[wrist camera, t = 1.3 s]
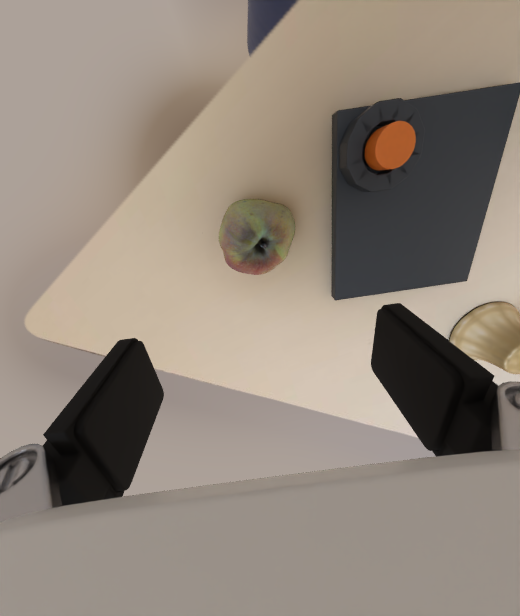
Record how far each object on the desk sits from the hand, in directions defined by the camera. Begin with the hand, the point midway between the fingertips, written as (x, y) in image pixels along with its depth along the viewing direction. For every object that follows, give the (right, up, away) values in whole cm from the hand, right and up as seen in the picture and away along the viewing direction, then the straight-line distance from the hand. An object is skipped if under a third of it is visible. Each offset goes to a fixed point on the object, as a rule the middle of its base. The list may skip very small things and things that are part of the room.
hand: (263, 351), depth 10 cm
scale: (+14, +11, +13) cm, 22 cm away
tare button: (+9, +14, +8) cm, 19 cm away
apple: (-1, +9, +13) cm, 16 cm away
